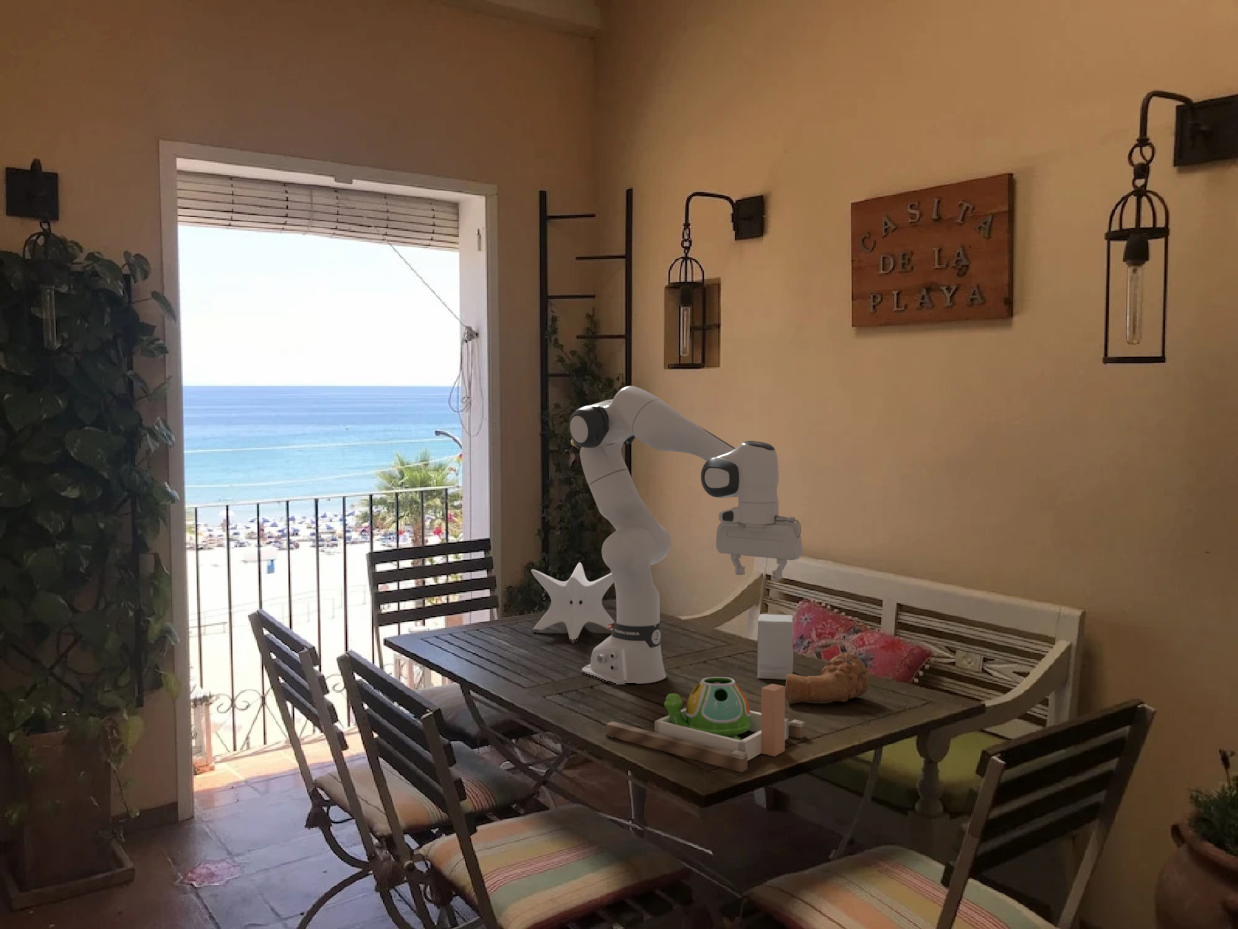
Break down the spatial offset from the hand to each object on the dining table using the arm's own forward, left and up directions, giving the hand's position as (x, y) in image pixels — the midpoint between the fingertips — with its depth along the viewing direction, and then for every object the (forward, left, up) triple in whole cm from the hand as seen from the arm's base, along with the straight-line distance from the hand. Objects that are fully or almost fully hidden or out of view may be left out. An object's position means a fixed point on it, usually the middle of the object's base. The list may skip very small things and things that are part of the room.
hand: (758, 576), depth 207 cm
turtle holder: (0, -19, -31) cm, 37 cm away
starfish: (-85, +35, -31) cm, 97 cm away
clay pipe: (+7, +19, -31) cm, 38 cm away
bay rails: (-2, -19, -31) cm, 36 cm away
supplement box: (-13, +31, -31) cm, 46 cm away
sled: (+4, -19, -31) cm, 36 cm away
